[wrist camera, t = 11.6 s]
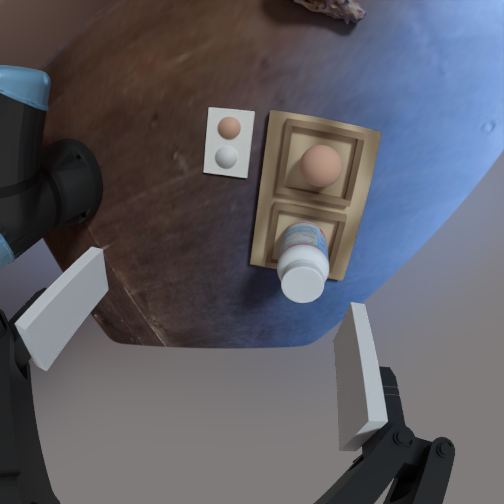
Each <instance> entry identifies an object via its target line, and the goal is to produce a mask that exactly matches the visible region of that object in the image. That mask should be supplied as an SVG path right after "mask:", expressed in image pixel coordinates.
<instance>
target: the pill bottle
mask: <svg viewBox="0 0 504 504" xmlns="http://www.w3.org/2000/svg"><path fill="white" fill-rule="evenodd" d="M277 273H278V277H279V279H280V281H281V288H282V291H283V293H284V294H285V295H286V297H288V298H289V299H290V300H292V301H295V302H299V303H307V302H311V301H313V300H315V299H317V298H318V297H319V296H320V295H321V293H322V292H323V289H324V283H325V281H326V279H327V277H328V274H329V260H328V251H327V243H326V237H325V234H324V232H323V230H322V229H321V228H320V227H319V226H318V225H316V224H315V223H312V222H308V221H300V222H295V223H293V224H291V225H290V226H288V227H287V228H286V230H285V231H284V233H283V236H282V240H281V246H280V252H279V258H278V264H277Z"/></svg>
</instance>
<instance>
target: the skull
mask: <svg viewBox="0 0 504 504" xmlns="http://www.w3.org/2000/svg"><path fill="white" fill-rule="evenodd" d="M293 1H294V2H295V3H299V4H301V5H303V6H304V7H306V8H307V9H308V10H310V11H313V12H321V13H324V14H326V15H327V16H331V17H333V18H334V19H339V18H342V19H344V20H345V22H346V24H348V23H349V21H353V22H354V23H358V22H359V21H360V20H361V19H364V18H365V15H366V12H365V11H364V10H363V9H362V7H361V5H360V4H359V3H358V2H357V1H356V0H308V1H310V2H308V1H305V0H293Z"/></svg>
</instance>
